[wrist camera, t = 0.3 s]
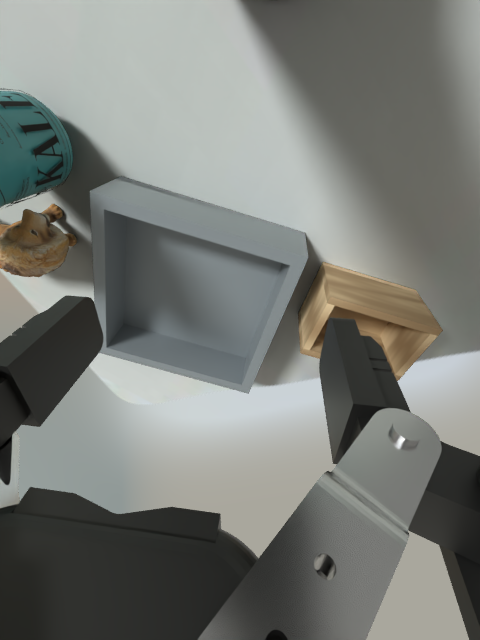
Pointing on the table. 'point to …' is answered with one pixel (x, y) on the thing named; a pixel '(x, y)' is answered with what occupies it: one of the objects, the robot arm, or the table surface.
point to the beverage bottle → (30, 148)
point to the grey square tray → (189, 282)
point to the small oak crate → (368, 315)
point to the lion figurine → (34, 244)
